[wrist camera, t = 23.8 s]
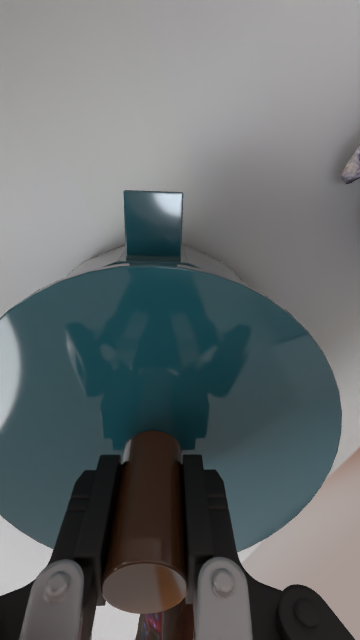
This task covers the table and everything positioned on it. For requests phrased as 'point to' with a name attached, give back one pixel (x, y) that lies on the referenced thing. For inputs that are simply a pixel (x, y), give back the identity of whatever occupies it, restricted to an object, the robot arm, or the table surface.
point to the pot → (155, 236)
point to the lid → (160, 413)
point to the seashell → (352, 168)
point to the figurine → (168, 624)
